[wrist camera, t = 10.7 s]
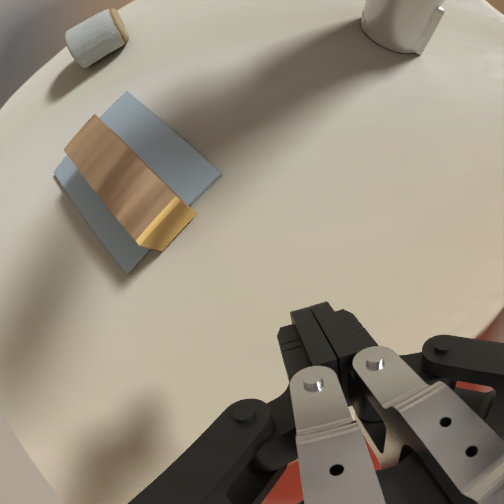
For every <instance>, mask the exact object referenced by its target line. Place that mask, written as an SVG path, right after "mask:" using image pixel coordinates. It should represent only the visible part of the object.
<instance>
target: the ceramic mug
mask: <svg viewBox="0 0 504 504" xmlns="http://www.w3.org/2000/svg"><path fill="white" fill-rule="evenodd" d="M128 39H129V36H128V33H127V30H126V28H125V25H124V23H123V21H122V19H121V17H120V15H119V14H118V12H117V11H116V10H115V9H113V8H111V9H108V10H104V11H102V12H100V13H98V14H96V15H94V16H93V17H91V18H89V19H87V20H85V21H83V22H82V23H80V24H78V25H77V26H75V27H73V28H71V29H69V30H68V31H67V32H66V33H65V40H66V45H67V47H68V49H69V51H70V53H71V55H72V56H73V58H74V59H75V61H76V62H77V63H78V64H79V65H80V66H81V67H82V68H87V67H89V66H90V65H92V64H93V63H95V62H96V61H98V60H100V59H101V58H103V57H104V56H106V55H107V54H109V53H111V52H113V51H115V50H116V49H118V48H120V47H121V46H123V45H124V44H125V43H127V41H128Z"/></svg>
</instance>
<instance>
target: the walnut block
mask: <svg viewBox="0 0 504 504" xmlns="http://www.w3.org/2000/svg"><path fill="white" fill-rule="evenodd" d="M64 151H65V152H66V154H67V155H68V156H69V158H70V159H71V161H72V162H73V163H74V165H75V166H76V167H77V169H78V170H79V171H80V173H81V174H82V175H83V177H84V178H85V179H86V181H87V182H88V183H89V185H90V186H91V187H92V188H93V190H94V191H95V192H96V194H97V195H98V196H99V197H100V199H101V200H102V201H103V202H104V204H105V205H106V206H107V207H108V209H109V210H110V211H111V212H112V214H113V215H114V216H115V217H116V218H117V220H118V221H119V222H120V223H121V224H122V226H123V227H124V228H125V229H126V230H127V232H128V233H129V234H130V235H131V236H132V237H133V239H134V240H135V241H136V242H137V243H138V244H139V246H142V247H146V248H150V249H155V250H159V251H163V250H164V249H165V248H166V246H167V245H168V244H169V243H170V242H171V241H172V240H173V239H174V238H175V237H176V236H177V234H178V233H179V232H180V231H181V230H182V229H183V228H184V227H185V226H186V225H187V224H188V223H189V222H190V221H191V219H192V218H193V217H194V216H195V215H196V213H195V212H194V211H193V210H192V209H191V208H190V207H189V206H188V205H187V204H186V203H185V202H184V201H183V200H182V199H181V198H180V197H179V196H178V195H177V194H176V193H175V192H174V191H173V190H172V189H171V188H170V187H169V186H168V185H167V184H166V183H165V182H164V181H163V180H162V179H161V178H160V177H159V176H158V175H157V174H156V173H155V172H154V171H153V170H152V169H151V168H150V167H149V166H148V165H147V164H146V163H145V162H144V161H143V160H142V159H141V158H140V157H139V156H138V155H137V154H136V153H135V152H134V151H133V150H132V149H131V148H130V147H129V146H128V145H127V144H126V143H125V142H124V141H123V140H122V139H121V138H120V137H119V136H118V135H117V134H116V133H115V132H114V131H113V130H112V129H111V128H110V127H108V126H107V125H106V124H105V123H104V122H103V121H102V120H101V119H100V118H98V117H97V116H96V115H95V114H94V115H93V116H92V117H91V118H90V119H89V120H88V122H87V123H86V124H85V125H84V126H83V127H82V128H81V129H80V131H79V132H78V133H77V134H76V135H75V136H74V138H73V139H72V140H71V141H70V142H69V144H68V145H67V146H66V147H65V148H64Z"/></svg>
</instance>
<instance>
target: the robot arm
mask: <svg viewBox="0 0 504 504" xmlns="http://www.w3.org/2000/svg"><path fill="white" fill-rule="evenodd" d="M443 2H444V0H366V3H365V7H364V10H363V13H362V19H361V27H362V29H363V31H364V32H365V33H366V35H368V36H369V37H370V38H371V39H372V40H373V41H375V42H376V43H378V44H379V45H381V46H383V47H385V48H387V49H390V50H392V51H395V52H400V53H417V54H419V55H421V54H422V52H423V51H424V49H425V47H426V45H427V44H428V42H429V40H430V38H431V36H432V35H433V33H434V31H435V29H436V27H437V26H438V24H439V22H440V20H441V18H442V16H443V14H444V9H443V6H442V4H443ZM290 316H291V320H292V325H288V326H284V327H281V328H280V330H279V333H278V335H277V338H278V341H279V345H280V349H281V353H282V357H283V361H284V365H285V369H286V372H287V376H288V379H289V385H288V387H287V389H286V391H285V392H284V393H283V394H282V395H281V396H279V397H278V398H276V399H275V400H273V401H271V402H269V403H267V404H266V403H265V402H263V401H261V400H258V399H244V400H240V401H237V402H235V403H233V404H232V405H230V406H229V407H228V408H227V409H226V410H225V411H224V412H223V413H222V414H221V415H220V416H219V417H218V418H217V419H216V420H215V421H214V422H213V423H212V424H211V425H210V427H209V428H208V429H207V430H206V431H205V432H204V433H203V434H202V435H201V436H200V437H199V438H198V439H197V440H196V441H195V442H194V443H193V444H192V445H191V446H190V447H189V448H188V449H187V450H186V451H185V452H184V453H183V454H182V455H181V456H180V457H179V458H178V459H177V460H176V461H174V462H173V463H172V464H171V465H170V466H169V467H168V468H167V469H166V470H165V471H164V472H163V473H162V474H161V475H160V476H158V477H157V478H156V479H155V480H154V481H153V482H152V483H151V484H150V485H149V486H147V487H146V488H145V489H144V490H143V491H142V492H141V493H139V494H138V495H137V496H136V497H135V498H134V499H132V500H131V501H130V502H129V503H128V504H261V503H262V501H263V500H264V499H265V497H266V496H267V495H268V493H269V492H270V491H271V489H272V488H273V487H274V485H275V484H276V483H277V481H278V480H279V478H280V477H281V476H282V474H283V473H284V471H285V470H286V468H287V465H288V463H290V462H292V461H294V460H296V459H298V460H299V467H300V474H301V482H302V489H303V496H304V500H303V501H301V502H299V503H298V504H504V343H498V342H490V341H484V340H477V339H470V338H463V337H457V336H451V335H438V336H434V337H432V338H430V339H428V340H427V341H426V342H425V343H424V345H423V347H422V352H420V353H415V354H409V355H397V354H396V353H395V352H394V351H393V350H392V349H390V348H387V347H383V346H378V344H377V343H376V342H375V341H374V339H373V338H372V337H371V336H370V334H369V333H368V332H367V331H366V329H365V328H364V327H363V326H362V324H361V323H360V322H358V320H357V318H356V317H355V316H354V315H353V314H352V313H350V312H348V311H346V310H344V309H342V310H339V311H336V312H335V311H334V310H333V309H332V307H331V306H330V304H329V303H328V302H327V301H326V302H323V303H320V304H316V305H313V306H309V308H308V307H306V308H303V309H299V310H296V311H292V312H290ZM457 381H463V382H468V383H473V384H479V385H485V386H490V387H492V388H493V390H492V391H490V392H487V393H484V392H478V391H473V390H467V389H462V388H457V387H456V383H457ZM349 406H353V408H354V410H355V420H356V421H353V419H352V417H351V414H350V411H349V408H348V407H349ZM362 433H363V435H364V436H365V438H366V440H367V442H368V443H369V445H370V446H371V448H372V450H373V451H374V453H375V455H376V456H377V458H378V460H379V462H380V466H381V470H377V471H375V469H374V466H373V464H372V460H371V458H370V455H369V452H368V449H367V446H366V443H365V440H364V438H363V435H362Z"/></svg>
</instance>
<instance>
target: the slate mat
mask: <svg viewBox="0 0 504 504" xmlns="http://www.w3.org/2000/svg"><path fill="white" fill-rule="evenodd" d="M100 119H101V120H102V121H103V122H104V123H105V124H106V125H107V126H108V127H110V128H111V129H112V130H113V131H114V132H115V133H116V134H117V135H118V136H119V137H120V138H121V139H122V140H123V141H124V142H125V143H126V144H127V145H128V146H129V147H130V148H131V149H132V150H133V151H134V152H135V153H136V154H137V155H138V156H139V157H140V158H141V159H142V160H143V161H144V162H145V163H146V164H147V165H148V166H149V167H150V168H151V169H152V170H153V171H154V172H155V173H156V174H157V175H158V176H159V177H160V178H161V179H162V180H163V181H164V182H165V183H166V184H167V185H168V186H169V187H170V188H171V189H172V190H173V191H174V192H175V193H176V194H177V195H178V196H179V197H180V198H181V199H182V200H183V201H184V202H185V203H186V204H187V205H188V206H189V207H190V206H191V205H192V204H193V203H194V202H195V201H196V200H197V199H198V198H199V197H200V196H201V195H202V194H203V193H204V192H205V191H206V190H207V189H208V188H209V187H210V186H211V185H212V184H213V183H214V182H215V181H216V180H217V179H218V178H219V177H220V176H221V175H222V174H221V172H219V171H218V170H217V169H216V168H215V167H214V166H213V165H212V164H211V163H209V162H208V161H207V160H206V159H205V158H204V157H203V156H202V155H200V154H199V153H198V152H197V151H196V150H195V149H194V148H193V147H191V146H190V145H189V144H188V143H187V142H186V141H185V140H184V139H182V138H181V137H180V136H179V135H178V134H177V133H176V132H174V131H173V130H172V129H171V128H170V127H169V126H167V125H166V124H165V123H164V122H163V121H162V120H160V119H159V118H158V117H157V116H156V115H155V114H153V113H152V112H151V111H150V110H149V109H148V108H146V107H145V106H144V105H143V104H142V103H140V102H139V101H138V100H137V99H136V98H134V97H133V96H132V95H131V94H130V93H128V92H127V91H126V92H125V93H124V94H123V95H122V96H121V97H120V98H119V99H118V100H117V101H116V102H115V103H114V104H113V105H112V106H111V107H110V108H109V109H108V110H107V111H106V112H105V113H104V114H103V115H102V116H101V117H100ZM54 174H55V175H56V177H57V179H58V180H59V182H60V183H61V185H62V186H63V188H64V190H65V191H66V193H67V194H68V196H69V197H70V199H71V200H72V202H73V203H74V205H75V206H76V208H77V209H78V210H79V212H80V213H81V215H82V216H83V218H84V219H85V220H86V222H87V223H88V225H89V226H90V228H91V229H92V230H93V232H94V233H95V234H96V236H97V237H98V238H99V240H100V241H101V242H102V244H103V245H104V246H105V248H106V249H107V250H108V252H109V253H110V254H111V256H112V257H113V258H114V259H115V261H116V262H117V263H118V265H119V266H120V267H121V268H122V270H123V271H124V272H125V273H126V274H129V273H130V272H131V270H132V269H133V268H134V267H135V266H136V265H137V264H138V262H139V261H140V260H141V259H142V258H143V257H144V256H145V255H146V253H147V252H148V251H149V250H150V248H146V247H142V246H139V244H138V243H137V242H136V241H135V240H134V239H133V237H132V236H131V235H130V234H129V233H128V232H127V230H126V229H125V228H124V227H123V226H122V224H121V223H120V222H119V221H118V220H117V218H116V217H115V216H114V215H113V214H112V212H111V211H110V210H109V209H108V207H107V206H106V205H105V204H104V202H103V201H102V200H101V199H100V197H99V196H98V195H97V194H96V192H95V191H94V190H93V188H92V187H91V186H90V185H89V183H88V182H87V181H86V179H85V178H84V177H83V175H82V174H81V173H80V171H79V170H78V169H77V167H76V166H75V165H74V163H73V162H72V161H71V159H70V158H69V156H68V155H66V157H65V158H64V159H63V160H62V162H61V163H60V164H59V166H58V167H57V168H56V169H55V171H54Z"/></svg>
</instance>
